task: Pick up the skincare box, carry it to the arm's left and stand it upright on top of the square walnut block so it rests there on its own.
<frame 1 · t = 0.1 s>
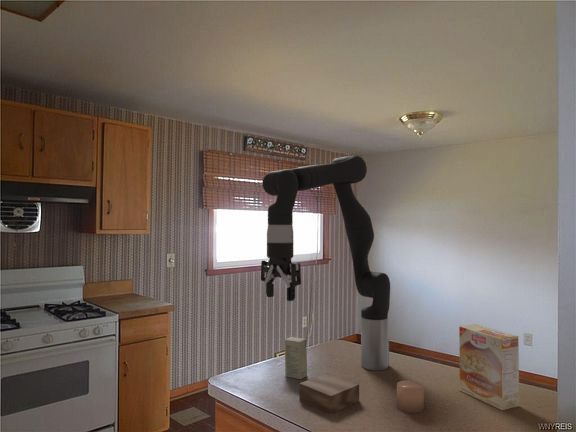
hand: (280, 298, 116), 29 cm above the counter, tool pointing down, fingers open, 8 cm apart
coffeecake box: (488, 398, 119), on the counter
pink rounded knob: (410, 407, 113), on the counter
walnut block: (329, 401, 117), on the counter
skincare box: (295, 376, 136), on the counter
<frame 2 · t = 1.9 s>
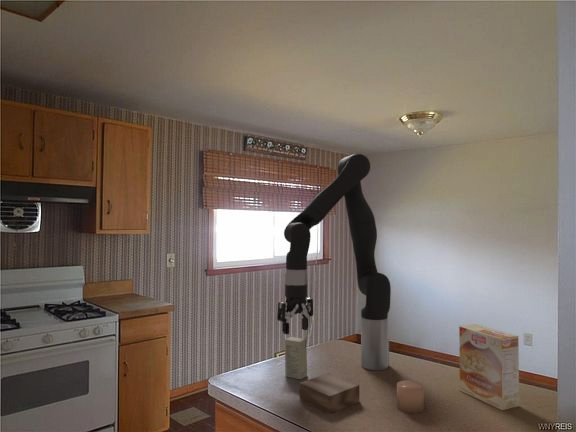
hand: (295, 331, 136), 15 cm above the counter, tool pointing down, fingers open, 8 cm apart
nothing on the counter moved.
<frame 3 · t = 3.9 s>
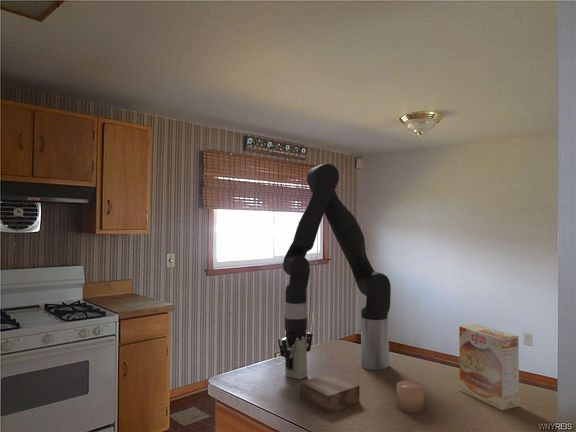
hand: (295, 367, 136), 3 cm above the counter, tool pointing down, fingers closed on skincare box, 5 cm apart
skincare box: (295, 376, 136), on the counter, touching gripper
everything else where it was.
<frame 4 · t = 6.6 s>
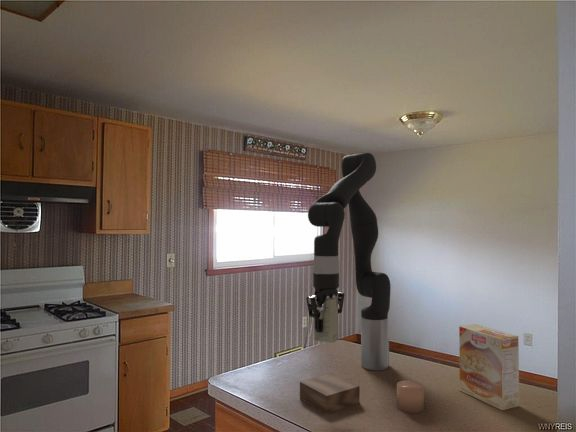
hand: (325, 330, 119), 20 cm above the counter, tool pointing down, fingers closed on skincare box, 5 cm apart
skincare box: (325, 341, 119), point 16 cm above the counter, touching gripper
everything else where it was.
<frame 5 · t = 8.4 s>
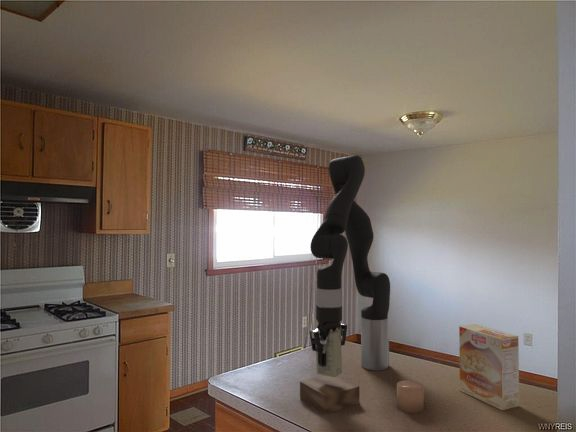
hand: (328, 363, 118), 10 cm above the counter, tool pointing down, fingers closed on skincare box, 5 cm apart
skincare box: (328, 374, 118), point 7 cm above the counter, touching gripper
everything else where it was.
when the fingers open (9 cm above the counter, at t = 9.6 s): skincare box drops 1 cm, resting on walnut block.
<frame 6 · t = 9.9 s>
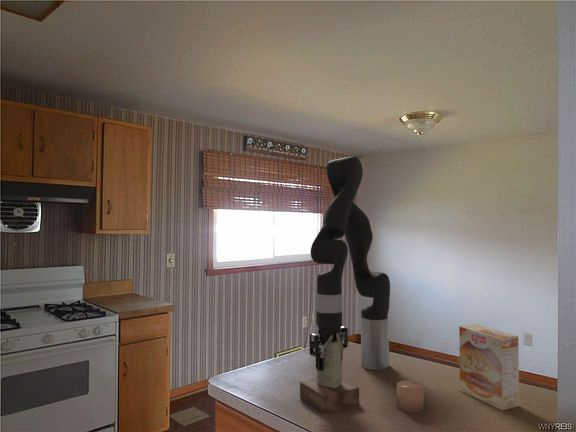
hand: (329, 366, 118), 9 cm above the counter, tool pointing down, fingers open, 7 cm apart
walnut block: (329, 402, 117), on the counter, touching skincare box
skincare box: (328, 385, 118), point 4 cm above the counter, touching walnut block
everything else where it was.
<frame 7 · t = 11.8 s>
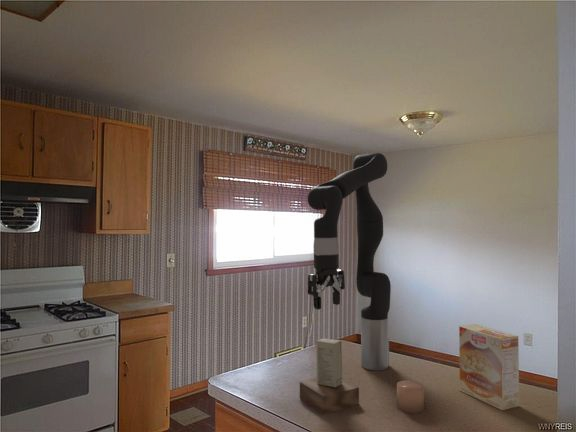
hand: (327, 306, 124), 25 cm above the counter, tool pointing down, fingers open, 8 cm apart
nothing on the counter moved.
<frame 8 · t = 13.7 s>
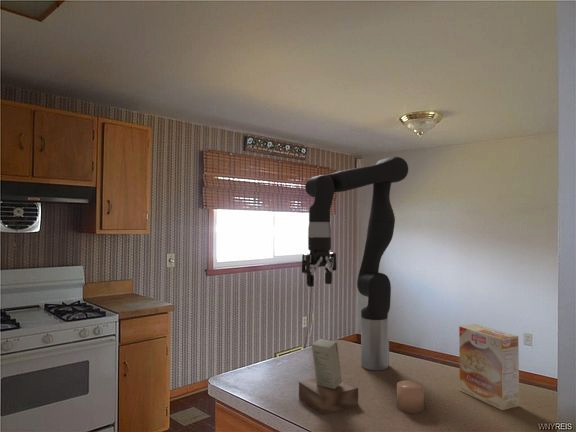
hand: (319, 285, 136), 30 cm above the counter, tool pointing down, fingers open, 8 cm apart
at the end: skincare box inside the target area on the walnut block (0.2 cm from its centre), point 5.1 cm above the walnut block's base; skincare box tilted 7°; the gripper is holding nothing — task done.
